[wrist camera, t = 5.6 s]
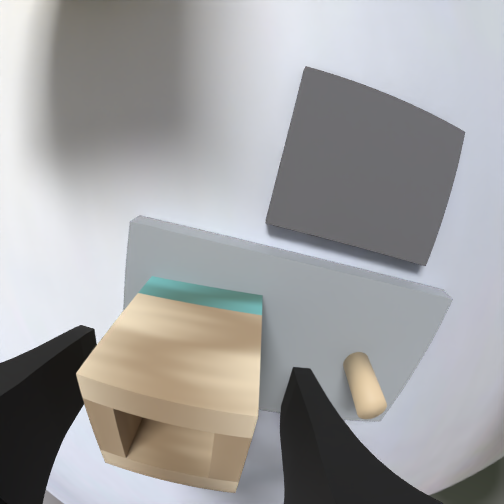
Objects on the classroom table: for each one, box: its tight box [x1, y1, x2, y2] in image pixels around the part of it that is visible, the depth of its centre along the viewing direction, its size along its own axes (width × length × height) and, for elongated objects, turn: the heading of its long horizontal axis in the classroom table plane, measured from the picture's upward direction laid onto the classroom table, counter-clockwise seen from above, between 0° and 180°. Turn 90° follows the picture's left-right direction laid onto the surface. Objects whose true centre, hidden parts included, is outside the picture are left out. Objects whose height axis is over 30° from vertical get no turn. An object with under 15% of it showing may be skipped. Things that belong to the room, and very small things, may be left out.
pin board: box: [123, 216, 453, 421], centre depth 12 cm, size 14×8×4 cm, turn 77°
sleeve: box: [76, 276, 263, 493], centre depth 10 cm, size 4×4×6 cm
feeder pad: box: [266, 66, 465, 266], centre depth 11 cm, size 7×6×1 cm
